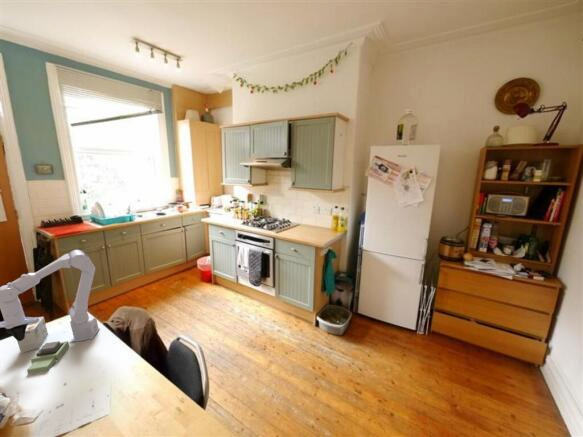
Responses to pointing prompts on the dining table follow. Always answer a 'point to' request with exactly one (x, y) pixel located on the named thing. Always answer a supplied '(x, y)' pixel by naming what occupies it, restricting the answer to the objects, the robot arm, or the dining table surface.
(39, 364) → the green tray
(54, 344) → the chute block
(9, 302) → the robot arm
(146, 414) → the dining table surface
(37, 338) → the light bulb box
